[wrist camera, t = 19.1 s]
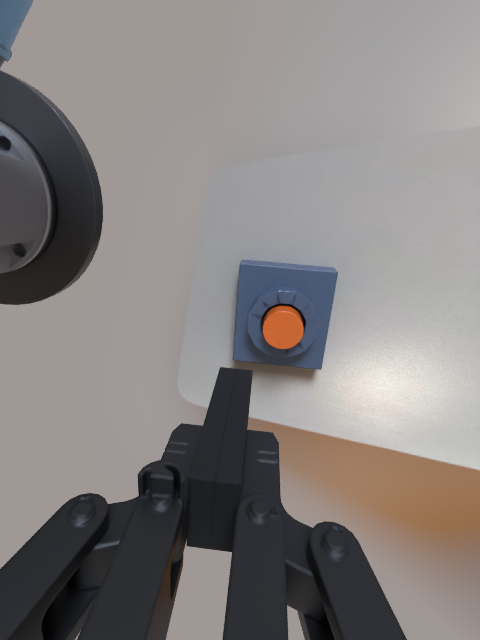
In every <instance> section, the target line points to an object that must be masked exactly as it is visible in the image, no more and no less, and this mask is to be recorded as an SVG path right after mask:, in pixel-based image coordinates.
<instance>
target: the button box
mask: <svg viewBox="0 0 480 640" xmlns="http://www.w3.org/2000/svg"><path fill="white" fill-rule="evenodd" d="M337 274H338V272H337V271H336V270H335V269H334V268H330V267H319V266H308V265H296V264H285V263H273V262H262V261H251V260H242V261H241V263H240V270H239V284H238V298H237V312H236V325H235V339H234V353H233V360H237V361H246V362H255V363H265V364H274V365H283V366H292V367H302V368H311V369H320V370H321V368H322V362H323V356H324V351H325V345H326V339H327V333H328V327H329V321H330V315H331V309H332V304H333V298H334V292H335V286H336V280H337ZM277 306H289V307H292V308H293V309H295V310H296V311H297V312H298V313H299V314H300V316H301V319H302V323H303V327H304V333H303V336H302V339H301V340H300V342H299V343H298V344H296V345H295V346H293V347H291V348H288V349H278V348H275V347H273V346H271V345H270V344H269V343H268V342H267V341H266V340H265V338H264V335H263V321H264V317H265V315H266V314H267V313H268V311H270V310H271V309H272V308H274V307H277Z"/></svg>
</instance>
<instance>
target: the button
mask: <svg viewBox="0 0 480 640" xmlns="http://www.w3.org/2000/svg"><path fill="white" fill-rule="evenodd" d="M303 333H304V327H303V323H302V319H301V316H300V314H299V313H298V312H297V311H296V310H295V309H293V308H292V307H289V306H277V307H274V308H272V309H271V310H270V311H268V313H267V314H266V315H265V317H264V321H263V335H264V338H265V340H266V341H267V342H268V343H269V344H270V345H271V346H273V347H275V348H278V349H288V348H291V347H293V346H295V345H296V344H298V343H299V342H300V340H301V339H302V336H303Z"/></svg>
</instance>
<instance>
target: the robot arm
mask: <svg viewBox="0 0 480 640" xmlns="http://www.w3.org/2000/svg"><path fill="white" fill-rule="evenodd" d="M32 2H33V0H0V67H1V65H2V64H3V62H4V61H7V62H8V61H9V60H10V58H11V55H12V53H11V49H10V48H11V46H12V44H13V42H14V40H15V38H16V36H17V34H18V31H19V29H20V27H21V25H22V22H23V21H24V19H25V17H26V15H27V13H28V11H29V9H30V7H31V5H32ZM57 221H58V201H57V194H56V190H55V186H54V183H53V179H52V177H51V174H50V172H49V170H48V168H47V166H46V164H45V162H44V160H43V159H42V157H41V155H40V154H39V152H38V151H37V150H36V148H35V147H34V146H33V145H32V143H31V142H30V141H29V140H28V139H27V138H26V137H25V136H24V135H23V134H22V133H21V132H19V131H18V130H17V129H16V128H14V127H13V126H12V125H10V124H9V123H7V122H5V121H4V120H2V119H0V273H6V272H10V271H14V270H17V269H21V268H24V267H26V266H28V265H30V264H32V263H34V262H35V261H36V260H38V259H39V258H40V257H41V256H42V255H43V254H44V253H45V251H46V250H47V249H48V247H49V245H50V244H51V242H52V240H53V237H54V234H55V231H56V227H57ZM252 372H253V371H252V370H242V369H232V368H223V367H220V370H219V373H218V377H217V380H216V383H215V387H214V390H213V394H212V397H211V401H210V404H209V408H208V411H207V414H206V418H205V421H204V425H203V426H199V425H191V424H180V425H179V426H178V427H177V428H176V429H175V430H174V431H173V432H172V434H171V436H170V439H169V441H168V444H167V446H166V448H165V452H164V453H163V456H162V458H161V460H159V461H155V462H152V463H150V464H148V465H147V466H145V467H144V468H142V470H141V471H140V472H139V474H138V488H139V489H138V490H139V496H138V497H136V498H134V499H132V500H128V501H125V502H119V503H113V504H107V502H106V500H105V498H103V497H102V496H100V495H99V494H93V493H88V494H82V495H79V496H77V497H74V498H72V499H70V500H69V501H68V502H66V503H65V504H64V505H63V506H62V507H61V508H60V509H59V510H58V511H57V512H56V513H55V514H54V515H53V516H52V517H51V518H50V519H49V520H48V521H47V522H46V523H45V524H44V525H43V526H42V527H41V528H40V529H39V530H38V531H37V532H36V533H35V534H34V536H32V537H31V539H29V541H27V542H26V543H25V545H23V547H22V548H21V549H20V550H19V551H18V552H17V553H16V554H15V555H14V556H13V557H12V558H11V559H10V560H9V561H8V562H7V563H6V564H5V565H4V566H3V567H2V568H1V569H0V640H75V638H76V636H77V635H78V634H79V632H80V631H81V632H80V634H79V636H78V639H77V640H166V635H167V631H168V627H169V622H170V618H171V614H172V610H173V605H174V601H175V597H176V592H177V588H178V584H179V580H180V575H181V571H182V567H183V551H184V548H185V543H186V539H187V546H190V547H198V548H205V549H213V550H221V551H228V552H232V559H231V569H230V577H229V586H228V596H227V605H226V614H225V623H224V632H223V640H288V622H287V605H288V606H290V607H292V608H294V609H296V610H297V611H298V615H299V619H300V623H301V626H302V630H303V634H304V637H305V640H407V639H406V637H405V635H404V633H403V631H402V629H401V627H400V625H399V623H398V621H397V619H396V617H395V615H394V613H393V611H392V609H391V607H390V605H389V603H388V601H387V599H386V597H385V595H384V593H383V591H382V588H381V586H380V585H379V583H378V581H377V578H376V576H375V574H374V572H373V570H372V569H371V566H370V564H369V562H368V560H367V558H366V556H365V554H364V552H363V550H362V548H361V546H360V544H359V542H358V541H357V539H356V538H355V536H354V535H353V533H352V532H350V531H349V530H348V529H346V528H345V527H344V526H342V525H340V524H337V523H334V522H322V523H318V524H317V525H316V526H315V527H314V528H312V527H309V526H307V525H305V524H303V523H300V522H299V521H297V520H295V519H293V518H292V517H291V516H290V515H289V514H287V512H286V510H285V509H284V507H283V505H282V503H281V498H280V471H279V443H278V441H277V439H276V437H275V436H274V434H273V433H271V432H262V431H253V430H247V426H248V415H249V404H250V394H251V383H252Z"/></svg>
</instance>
